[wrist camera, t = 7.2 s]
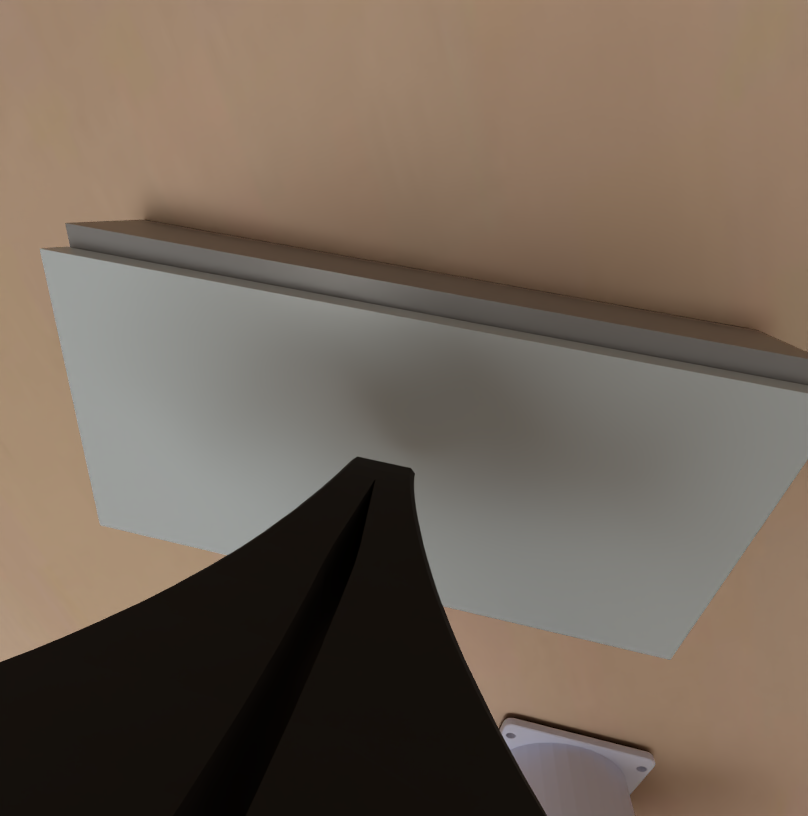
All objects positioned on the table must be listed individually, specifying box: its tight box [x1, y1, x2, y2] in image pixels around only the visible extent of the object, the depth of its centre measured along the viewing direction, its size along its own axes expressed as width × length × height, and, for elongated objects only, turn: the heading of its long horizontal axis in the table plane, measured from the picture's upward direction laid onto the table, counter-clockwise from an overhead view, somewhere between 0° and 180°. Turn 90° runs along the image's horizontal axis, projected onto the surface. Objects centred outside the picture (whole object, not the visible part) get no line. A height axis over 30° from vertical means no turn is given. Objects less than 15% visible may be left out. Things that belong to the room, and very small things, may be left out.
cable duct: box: [65, 220, 808, 385], centre depth 14 cm, size 10×20×3 cm, turn 81°
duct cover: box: [40, 247, 808, 660], centre depth 13 cm, size 9×20×1 cm, turn 81°
